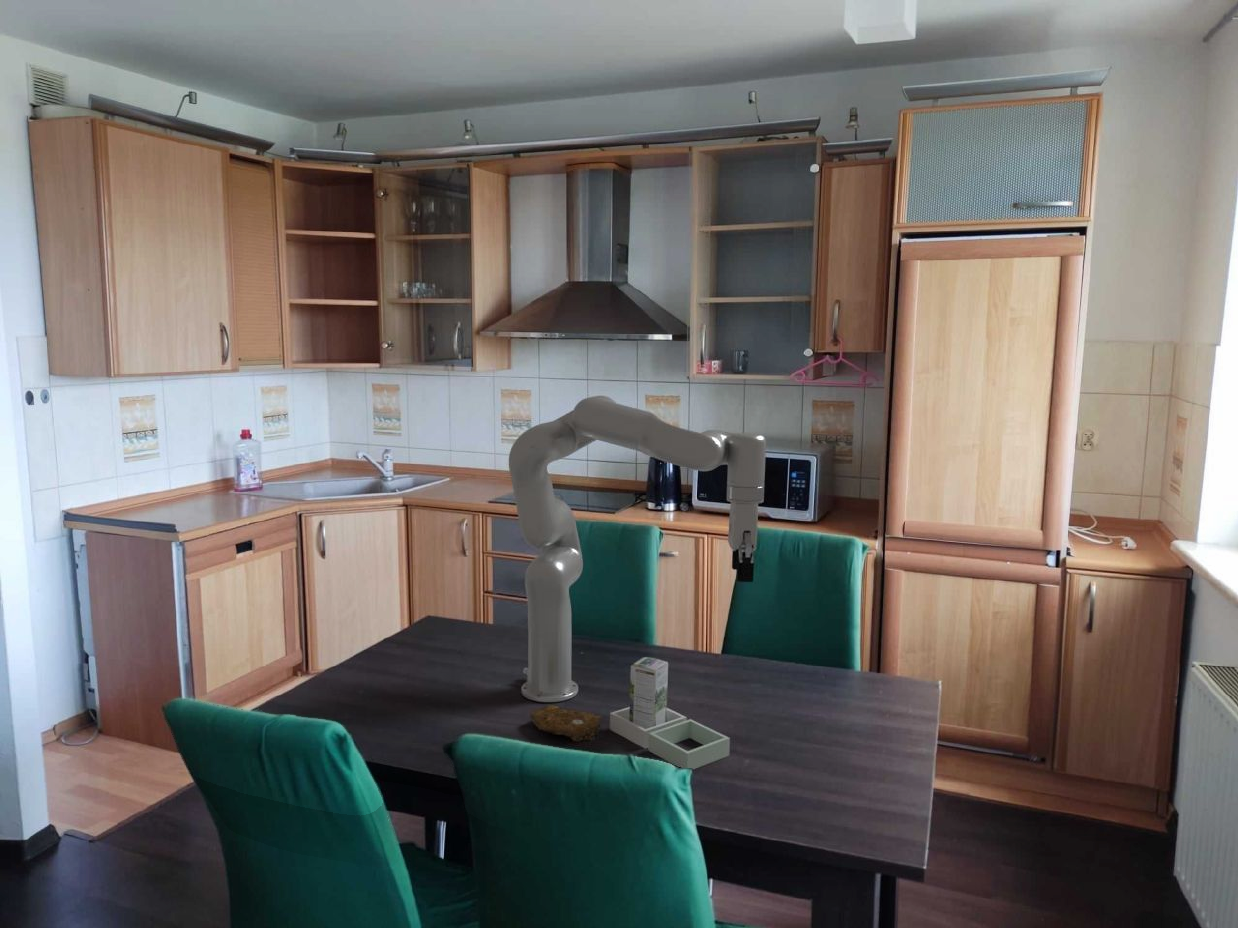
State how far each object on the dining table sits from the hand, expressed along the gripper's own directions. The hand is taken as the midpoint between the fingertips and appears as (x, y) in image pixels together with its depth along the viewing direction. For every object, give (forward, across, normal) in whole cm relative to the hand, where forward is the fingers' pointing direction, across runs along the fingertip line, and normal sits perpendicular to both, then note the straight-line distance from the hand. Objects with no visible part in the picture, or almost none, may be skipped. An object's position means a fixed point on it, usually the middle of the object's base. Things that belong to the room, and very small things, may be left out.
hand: (742, 575), depth 190 cm
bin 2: (+30, +19, -11) cm, 37 cm away
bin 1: (+30, +10, -19) cm, 37 cm away
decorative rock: (+31, +10, -36) cm, 48 cm away
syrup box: (+30, +10, -19) cm, 37 cm away
